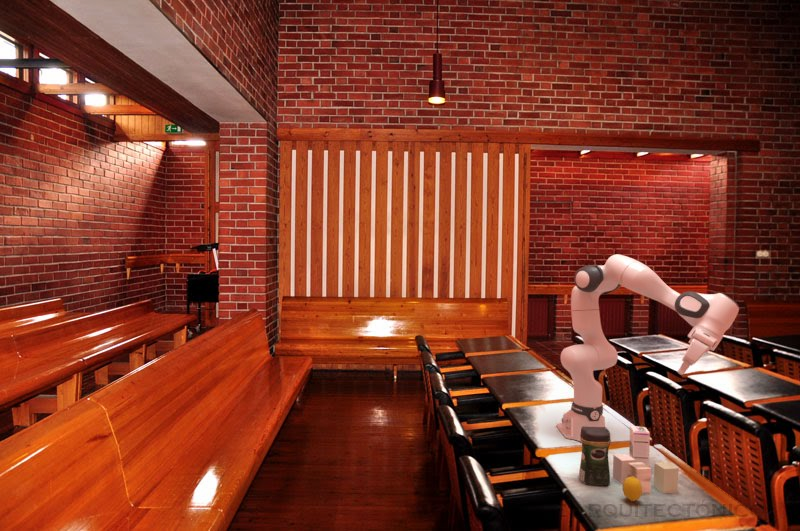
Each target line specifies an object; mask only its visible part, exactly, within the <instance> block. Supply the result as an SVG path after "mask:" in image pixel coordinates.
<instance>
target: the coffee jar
mask: <svg viewBox="0 0 800 531" xmlns="http://www.w3.org/2000/svg"><path fill="white" fill-rule="evenodd" d="M580 440H581V441H580V442H581V457H580V465H579V474H578V475H579V476H578V477H579V479H580V481H581V482H582V483H584V484H586V485H589V486H590V485H591V486H608V485H609V484H611V483H610V482H611V475H610V474H611V473H610V463H609V448H610V445H611V434H610V431H609V429H608V428H607V427H606V426H605V427H585V426H583V427H582V428H581V434H580Z"/></svg>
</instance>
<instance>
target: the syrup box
mask: <svg viewBox="0 0 800 531" xmlns="http://www.w3.org/2000/svg"><path fill="white" fill-rule="evenodd" d="M650 444H651V443H650V431H649V430H648V429H647V427H646V426H641V425H640V426H638V425H630V426H629V449H628V450H629V453H628V455H629V456H630V457H632V458H633V459H635V460H636V461H635V463H637V462H642V463H644V464H645V465H647V466H648V467H650Z"/></svg>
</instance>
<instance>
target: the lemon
mask: <svg viewBox="0 0 800 531" xmlns="http://www.w3.org/2000/svg"><path fill="white" fill-rule="evenodd" d="M622 493H623V495H624V496H625V498H626V499H628V500H629V501H630V502H632V501H633V502H634V501H638V500H639V499H640V498H641V496H642V495H643V493H642V486H641V483H640V481H639V480H638V479H637V478H635V477H634V476H631V477H628V478H626V479H625V481H624V483H623V484H622Z"/></svg>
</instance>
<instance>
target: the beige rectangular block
mask: <svg viewBox="0 0 800 531" xmlns="http://www.w3.org/2000/svg"><path fill="white" fill-rule="evenodd" d="M653 468H654V471H653V487H654V488H656V489H657V490H658V491H660V492H661V493H662V494H670V493H671V494H672V492H675V493H678V492H679V491H678V488H679V487H678V486H679V467H677V466H675V465H674V464H672V463H671V462H669V461H664V462H654V467H653Z"/></svg>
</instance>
